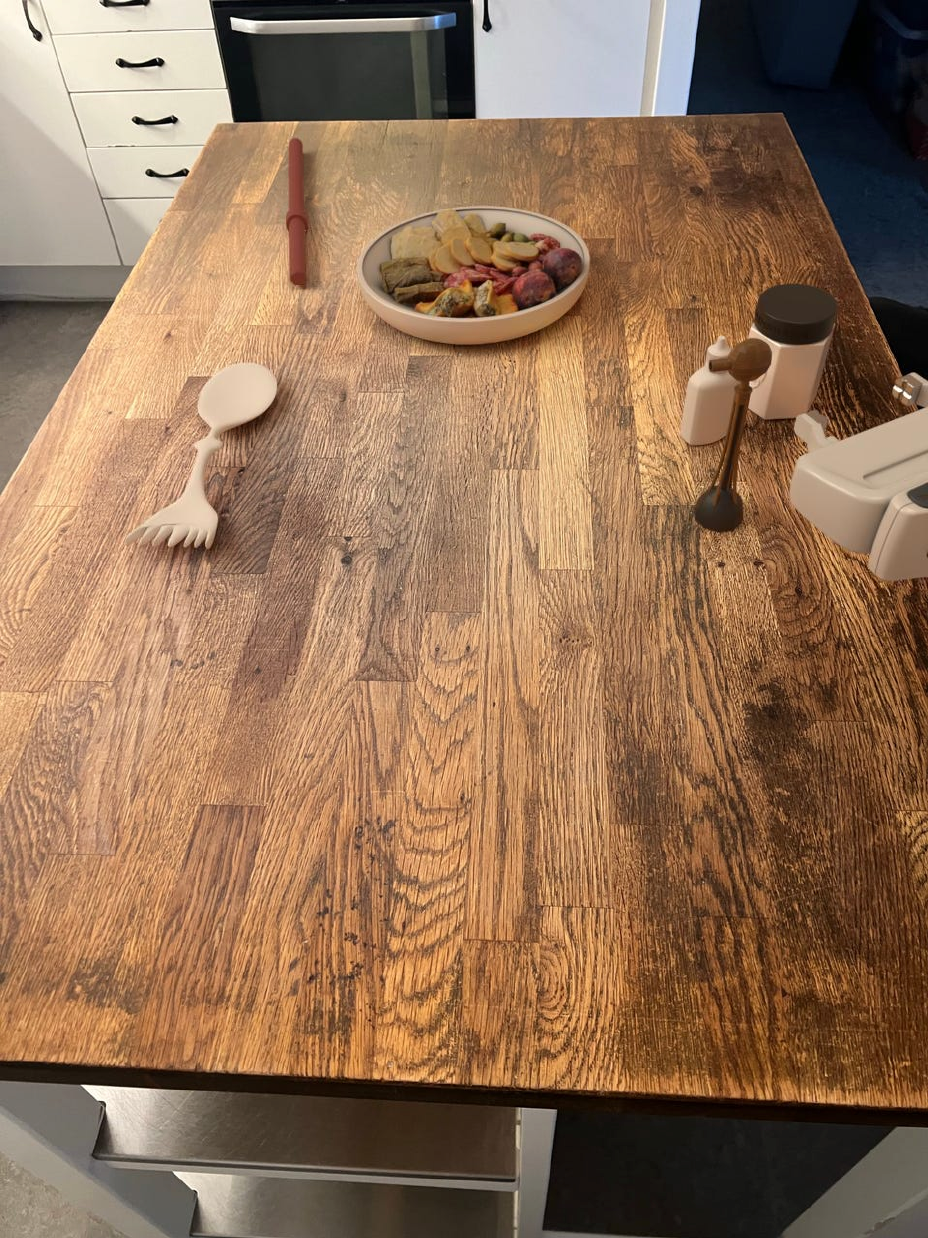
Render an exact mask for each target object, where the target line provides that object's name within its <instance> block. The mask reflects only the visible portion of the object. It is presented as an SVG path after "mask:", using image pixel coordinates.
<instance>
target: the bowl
mask: <svg viewBox="0 0 928 1238" xmlns="http://www.w3.org/2000/svg"><path fill="white" fill-rule="evenodd" d="M590 256H591V255H590V252H589V248H588V246H587V244H586V242H585V241H584V239H583V238H582V237H581V236H580V234H578V233H577V232H576V231H575V230H573V229H572V228H571V227H569V226H568V225H566V224H565V223H563V222H562V221H559V220H557V219H555V218H552V217H550V216H547V215H545V214H542V213H538V212H535V211H532V210H531V211H530V210H526V209H522V208H516V207H507V206H496V205H471V206H470V205H469V206H457V207H450V208H443V209H437V210H434V211H429V212H425V213H421V214H417V215H415V216H412V217H409V218H405V219H404V220H402V221H399V222H397V223H395V224H393V225H391V226H389V227H388V228H386V229H383V231H381V232H379V233H378V234H377V235H376V236H374V237H373V238H372V239H371V240H370V241H369V242H368V243H367V244H366V245H365V247H364V248H363V249H362V251H361V253H360V254H359V257H358V260H357V262H356V263H357V264H356V275H357V281H358V286H359V288H360V292H361V294H362V296H363V298H364V300H365V302H366V304H367V305H368V306H369V308H370V309H371V310H372V311H373V312H374V313H375V314H376V315H377V317H379V318H380V319H381V320H382V321H383V322H385V323H386V324H388V325H389V326H390V327H392V328H394V329H396V330H397V331H400V332H402V333H404V334H407V335H409V336H413V337H415V338H418V339H421V340H425V341H429V342H433V343H440V344H446V345H447V344H448V345H465V346H466V345H485V344H495V343H500V342H501V343H502V342H506V341H510V340H514V339H519V338H521V337H525V336H527V335H530V334H533V333H535V332H538V331H539V330H542V329H544V328H546V327H548V326H550V325H551V324H553V323H554V322H556V321H557V320H559V319H560V318H562V317H563V316H564V315H565V314H566V313H567V312H569V311H570V309H571V308H572V307H573V306H574V305H575V304H576V303H577V302H578V300H579V298H580V297H581V296H582V294H583V292H584V290H585V288H586V285H587V283H588V279H589V272H590V267H591V265H590V264H591V257H590Z"/></svg>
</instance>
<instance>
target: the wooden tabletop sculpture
mask: <svg viewBox="0 0 928 1238" xmlns="http://www.w3.org/2000/svg"><path fill="white" fill-rule="evenodd" d="M731 349H732V351H731V352H730V353H729V355H728V358H722V359H714V360H710V361H709V371H710V372H711V373H712V372H720V371H727V370H728V372H729V374H730V375H731V376H732V377H733V378H734V379H735V380H737V381H740V384H737V385H736V386H735V387H734V391H735V394H734V399H733V404H732V410H731V415H730V420H729V425H728V430H727V434H726V436H725V438H724V444H723V447H722V451H721V455H720V459H719V462H718V465H717V469H716V471H715V474H714V476H713V478H712V481H711V483H710V485H709V488H708V489H706V490H705V491H704V492H702V493H701V494H700V496H698V498H697V500H696V503H695V506H694V520H695V521H696V522H697V523H698V524H699V525H700V526H701V527H702V528H703V529H705V530H709V531H712V532H716V533H725V532H733V531H735V529H737V528H738V527H739V526H740V525H742V523H743V521H744V501H743V497H742V496H741V495H740V493H738V491H737V486H738V485H737V484H738V483H737V481H738V468H739V461H740V460H739V459H740V453H741V446H742V441H743V434H744V429H745V425H746V421H747V420H746V419H747V415H748V410H749V409H748V405H749V401H750V396H751V393H752V391H753V389H752V387H751V386H750V385H749V383H750V381H754V380H757V379H758V378H759V377H761V376H762V375H763V374H765V373H766V372H767V370H768V369H769V367H770V365H771V361H772V351H771V348H770V346H769V345H768V344H767V343H766V342H764V341H763V340H761V339H758V338H749V339H748V338H746V339H745V340H742V341H739V342H738V343H736V344H735V345H734V346H733V348H731ZM719 476H720V477H719ZM718 478H719V481H718V484H717V485H716V482H717V480H718Z"/></svg>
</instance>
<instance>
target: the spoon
mask: <svg viewBox="0 0 928 1238" xmlns="http://www.w3.org/2000/svg"><path fill="white" fill-rule="evenodd" d="M277 391H278V382H277V378H276V376H275V373H273V371H272V370H271V369H270V368H269V367H266V366H265V365H262V364H259V363H255V362H236V363H233V364H230V365H227V366H225V367H223V368H221V369H220V370H218V371H217V372H216V373H214V374H213V375H212V376H211V377H210V378H209V379H208V380H207V381H206V383H205V384H204V385H203V386H202V389H201V391H200V393H199V396H198V401H197V412H198V415H199V416H200V417H201V419H202V420H203V421H204V422H205V423H206V424H207V425H208V426H209V427H210V431H209V432H208V434H207V436H206V437H204V438H203V439H202V438H201V439H199V440H198V441H196V442H195V443H194V449H195V450H196V451H198V453H197V456H196V459H195V461H194V465H193V467H192V471H191V474H190V476H189V480H188V483H187V486H186V488H185V490H184V492H183V494H182V495H181V496H180V497H179V498H178V499H177V500H175V501H174V502H173V503H171V504H169V505H168V506H165V507H164V508H162V509H160V510H158V511H157V512H155V513H154V514H152V515H151V516H150V517H149V518H148V519H146V520H145V521H144V522H143V523H142V524H141V525H139V526H138V527H136V528H135V529H133V530H131V531H130V532H129V533H128V534H126V536H125V540H124V544H125V546H126V547H130V546H131V545H133V544H134V543H135V542H136V541H137V540H139V539H140V538H141V539H140V540H139V545H140V546H141V547H142V546H144V545H146V544H147V543H149V542H150V541H151V540H153V541H152V544H151V545H152V547H153V548H154V547H157V546H158V545H160V544H161V543H162V542H163V541H165V540H166V539H167V538H169V539H168V541H167V542H168V543H167V546H168V547H169V548H172V547H174V546H176V545H177V544H179V543H180V542H181V541H183V539H185V540H184V541H183V548H184V549H185V548H187V547H189V546H190V545H191V544H192V543H193V542H194V543H193V544H194V548H195V549H196V548H198V547H199V546H200V545H201V544H203V542H204V540H205V543H204V545H205V546H204V547H205V548H206V550H209V549H210V548H211V547H212V545H213V543H214V540H215V537H216V533H217V527H218V523H219V522H218V521H219V516H218V513H217V512H216V510H215V509H214V508H213V506H212V505H211V504H210V502H209V500H208V499H207V496H206V491H205V476H206V469H207V466H208V463H209V462H210V459H211V457H212V456H213V455H214V454H215V453H216V452H218V451H221V450H222V449H223V446H224V443H223V442H222V440H219V439H218V438H219V437H220V436H221V435H222V434H223V433H224V432H226V431H229V430H232V429H233V428H236V427H239V426H241V425H244V424H246V423H248V422H250V421H252V420H254V419H256V418H258V417H260V416H261V415H262V414H264V413H265V411H267V409H268V408H269V407H270V406H271V404H272V403H273V401H274V399H275V397H276V395H277Z"/></svg>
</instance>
